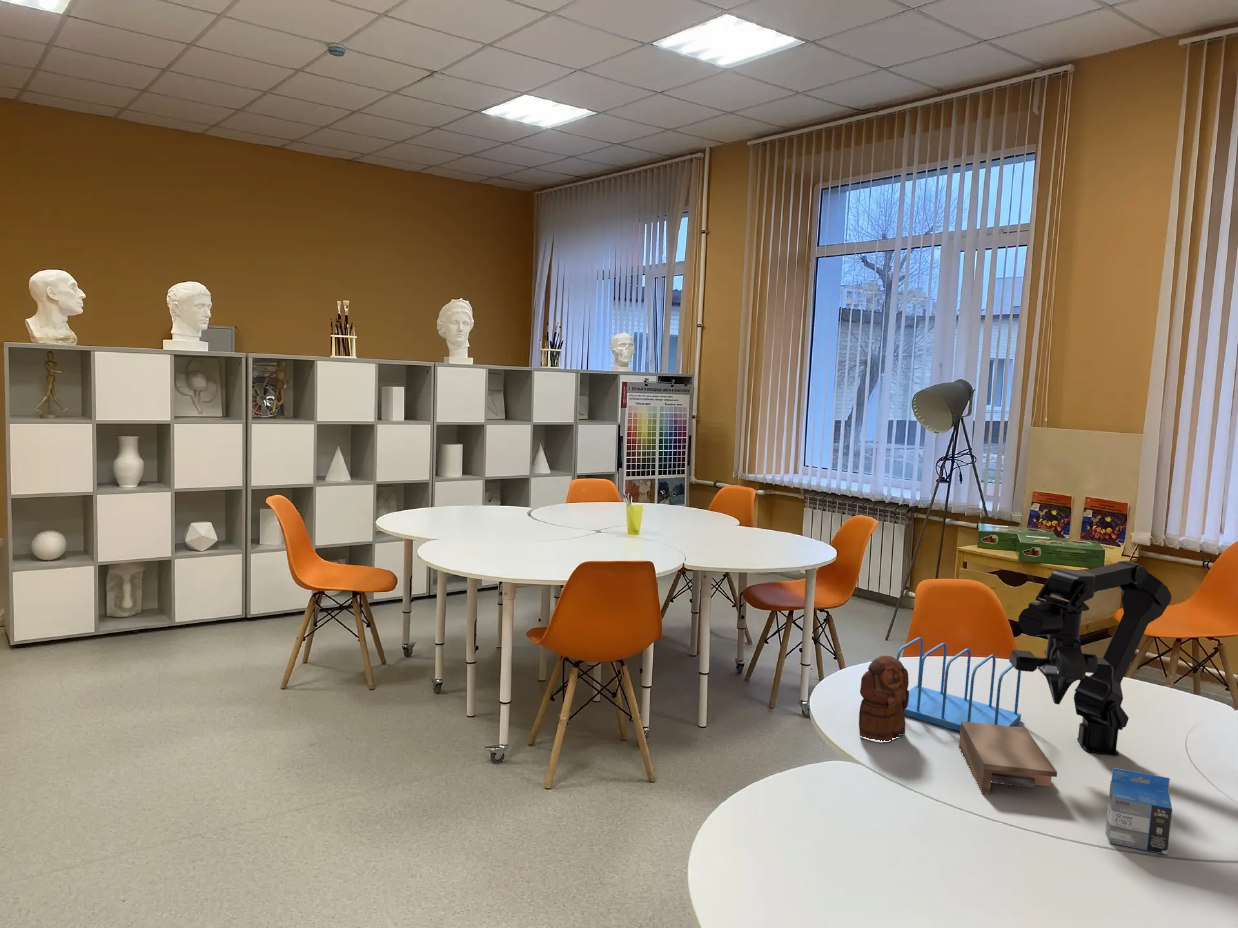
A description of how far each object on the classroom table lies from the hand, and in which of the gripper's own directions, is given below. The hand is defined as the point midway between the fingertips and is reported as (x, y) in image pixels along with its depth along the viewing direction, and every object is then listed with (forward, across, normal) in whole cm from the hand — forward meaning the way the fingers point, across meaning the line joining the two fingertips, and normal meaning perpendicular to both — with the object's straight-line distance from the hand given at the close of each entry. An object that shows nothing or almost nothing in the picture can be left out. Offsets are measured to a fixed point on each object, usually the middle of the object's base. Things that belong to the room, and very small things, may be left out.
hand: (1056, 703), depth 177 cm
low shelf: (+12, -12, -10) cm, 20 cm away
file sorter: (+12, -16, +18) cm, 27 cm away
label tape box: (+12, +4, -32) cm, 35 cm away
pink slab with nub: (+12, -10, -10) cm, 19 cm away
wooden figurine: (+12, -34, +2) cm, 36 cm away
